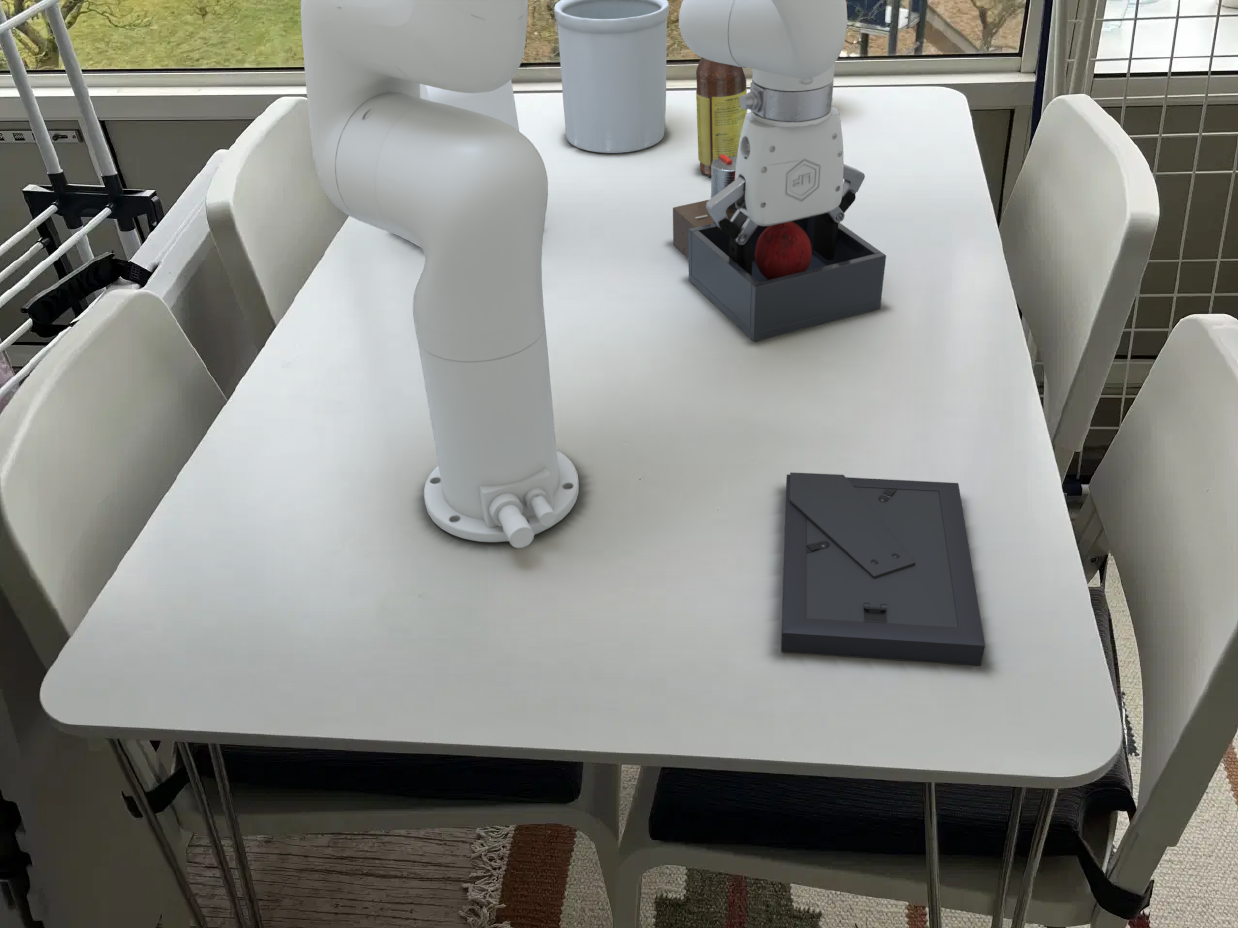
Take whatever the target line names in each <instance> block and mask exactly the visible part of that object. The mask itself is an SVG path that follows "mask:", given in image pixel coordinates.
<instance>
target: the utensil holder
mask: <svg viewBox="0 0 1238 928" xmlns="http://www.w3.org/2000/svg"><path fill="white" fill-rule="evenodd" d="M553 13H554V18H555V21H556V22H557V34H558V35H557V37H558V48H559V50H558V51H559V65H560V77H561V90H562V91H561V92H562V105H563V115H564V127H565V135H566V140H567V142H569V144H570V145H572V146H574V147H576V148H578V149H580V150H584V151H588V152H593V153H600V154H601V153H603V154H620V153H631V152H636V151H641V150H645V149H647V148H650V147H653V146H655V145H657V144H658V143H659V142H661V141H662V139H663V138H664V136H665V130H666V111H667V110H666V107H667V51H668V50H667V49H668V48H667V46H668V45H667V43H668V21H667V20H668V17H669V13H670V3H669V1H668V0H559V1H557V2H556V3H555V5H554V7H553Z"/></svg>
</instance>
